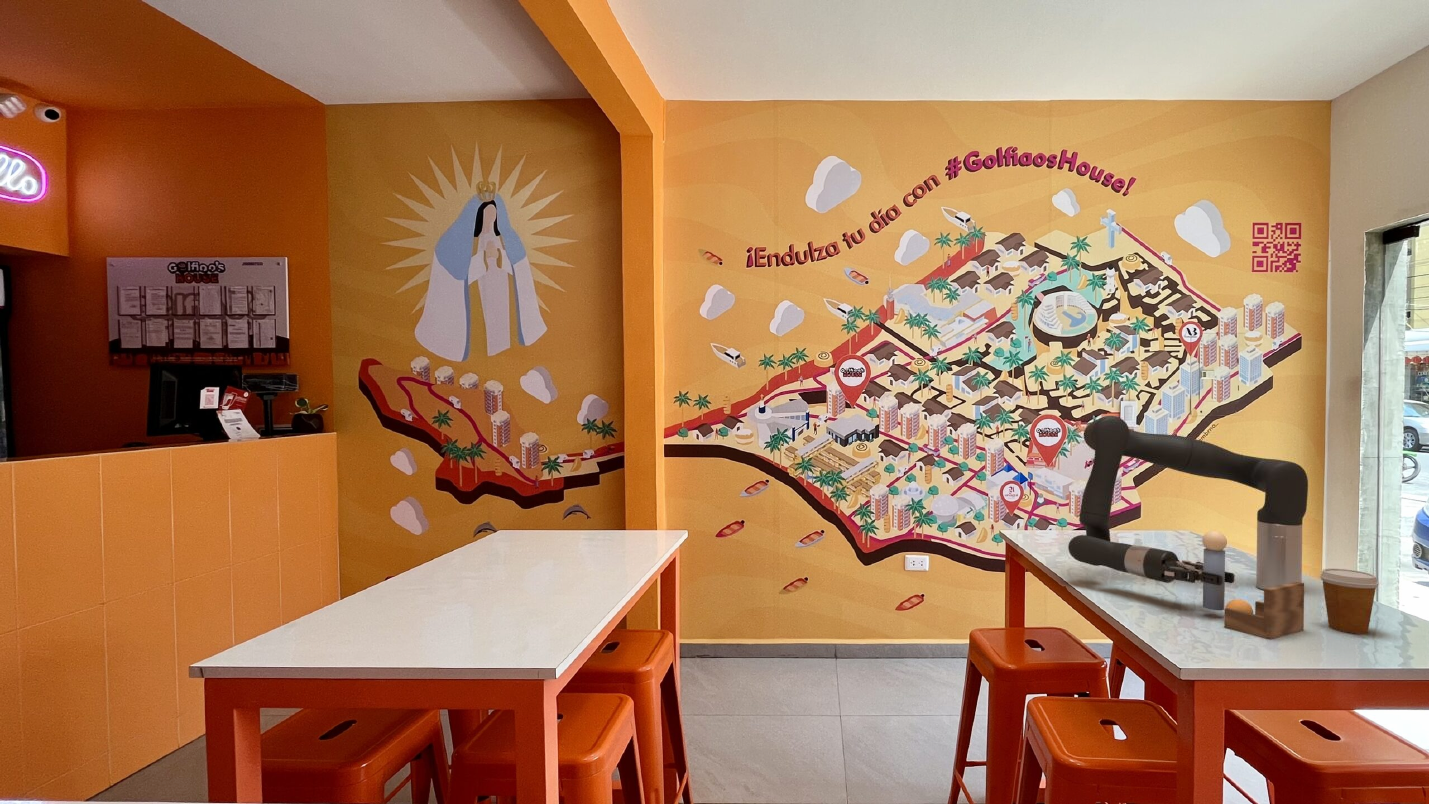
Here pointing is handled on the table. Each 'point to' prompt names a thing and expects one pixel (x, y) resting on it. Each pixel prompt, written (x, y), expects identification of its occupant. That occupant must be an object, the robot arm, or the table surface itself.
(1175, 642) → the table surface
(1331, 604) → the disposable coffee cup
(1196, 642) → the table surface
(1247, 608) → the ball
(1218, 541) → the player figure
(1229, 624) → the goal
